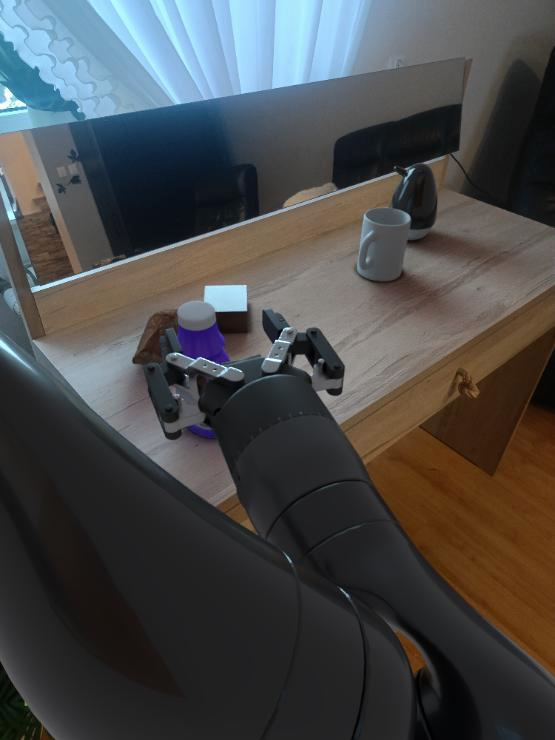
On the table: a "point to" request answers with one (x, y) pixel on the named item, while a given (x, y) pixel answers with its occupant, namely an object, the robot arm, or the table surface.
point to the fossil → (155, 336)
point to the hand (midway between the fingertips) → (219, 327)
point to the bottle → (200, 345)
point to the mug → (383, 243)
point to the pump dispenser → (417, 198)
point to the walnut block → (229, 306)
